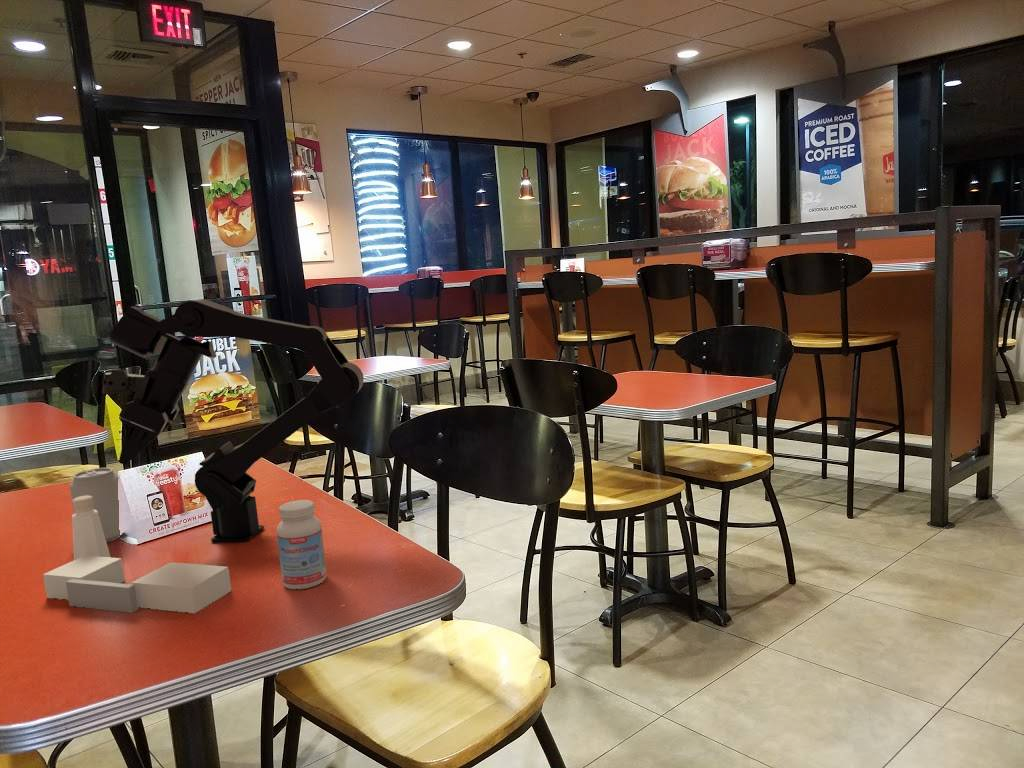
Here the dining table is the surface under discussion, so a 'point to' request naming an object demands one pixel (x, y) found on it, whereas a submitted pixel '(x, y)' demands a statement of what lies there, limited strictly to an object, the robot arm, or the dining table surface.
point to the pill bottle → (300, 545)
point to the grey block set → (137, 585)
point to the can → (100, 497)
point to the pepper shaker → (87, 530)
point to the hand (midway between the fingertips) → (127, 458)
